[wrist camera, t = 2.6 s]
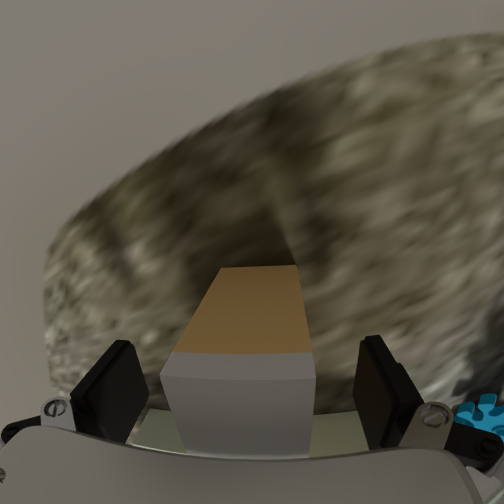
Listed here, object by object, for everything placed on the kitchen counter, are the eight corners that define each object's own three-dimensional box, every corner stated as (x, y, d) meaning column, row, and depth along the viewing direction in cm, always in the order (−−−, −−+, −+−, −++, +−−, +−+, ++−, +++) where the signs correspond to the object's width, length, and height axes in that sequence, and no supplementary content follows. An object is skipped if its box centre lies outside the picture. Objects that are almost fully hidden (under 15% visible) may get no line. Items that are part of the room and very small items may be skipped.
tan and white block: (296, 264, 13) (315, 377, 6) (296, 368, 15) (302, 495, 7) (221, 267, 14) (158, 374, 6) (233, 369, 15) (204, 491, 7)
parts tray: (389, 405, 15) (404, 443, 12) (347, 507, 20) (349, 532, 16) (149, 408, 17) (131, 443, 13) (199, 508, 21) (193, 531, 18)
